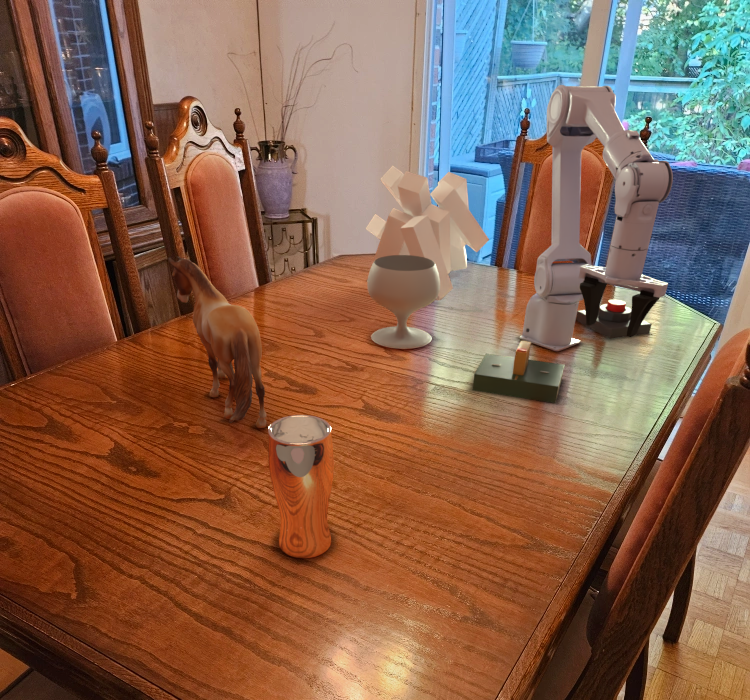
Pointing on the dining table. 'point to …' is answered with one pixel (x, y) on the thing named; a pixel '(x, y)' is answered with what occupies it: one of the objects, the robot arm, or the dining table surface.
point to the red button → (616, 305)
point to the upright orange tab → (521, 358)
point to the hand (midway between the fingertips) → (610, 329)
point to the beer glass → (302, 482)
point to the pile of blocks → (428, 223)
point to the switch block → (612, 322)
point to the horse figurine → (224, 339)
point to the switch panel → (518, 378)
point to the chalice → (403, 296)
